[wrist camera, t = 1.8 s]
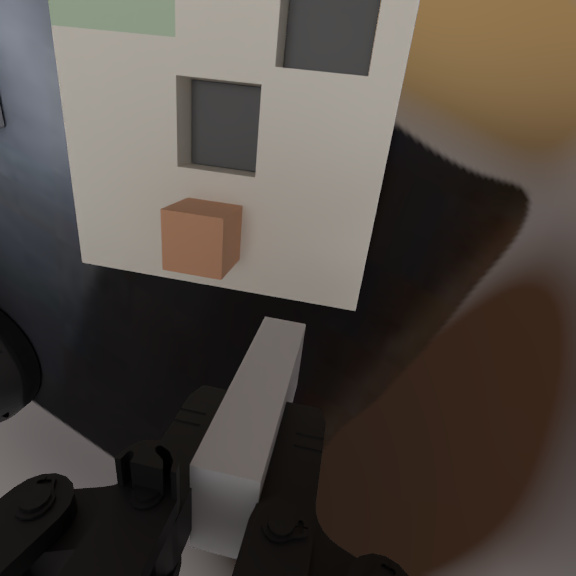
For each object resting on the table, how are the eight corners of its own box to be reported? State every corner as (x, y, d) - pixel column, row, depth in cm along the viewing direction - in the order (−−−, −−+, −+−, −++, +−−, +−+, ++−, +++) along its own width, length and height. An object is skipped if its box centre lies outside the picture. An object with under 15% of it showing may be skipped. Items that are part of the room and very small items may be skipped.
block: (188, 251, 28) (162, 269, 24) (187, 197, 26) (160, 209, 23) (239, 259, 28) (221, 280, 24) (242, 205, 26) (223, 218, 22)
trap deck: (101, 252, 32) (69, 269, 29) (66, -81, 23) (12, -119, 20) (355, 296, 30) (355, 320, 26) (428, -59, 21) (442, -98, 17)
